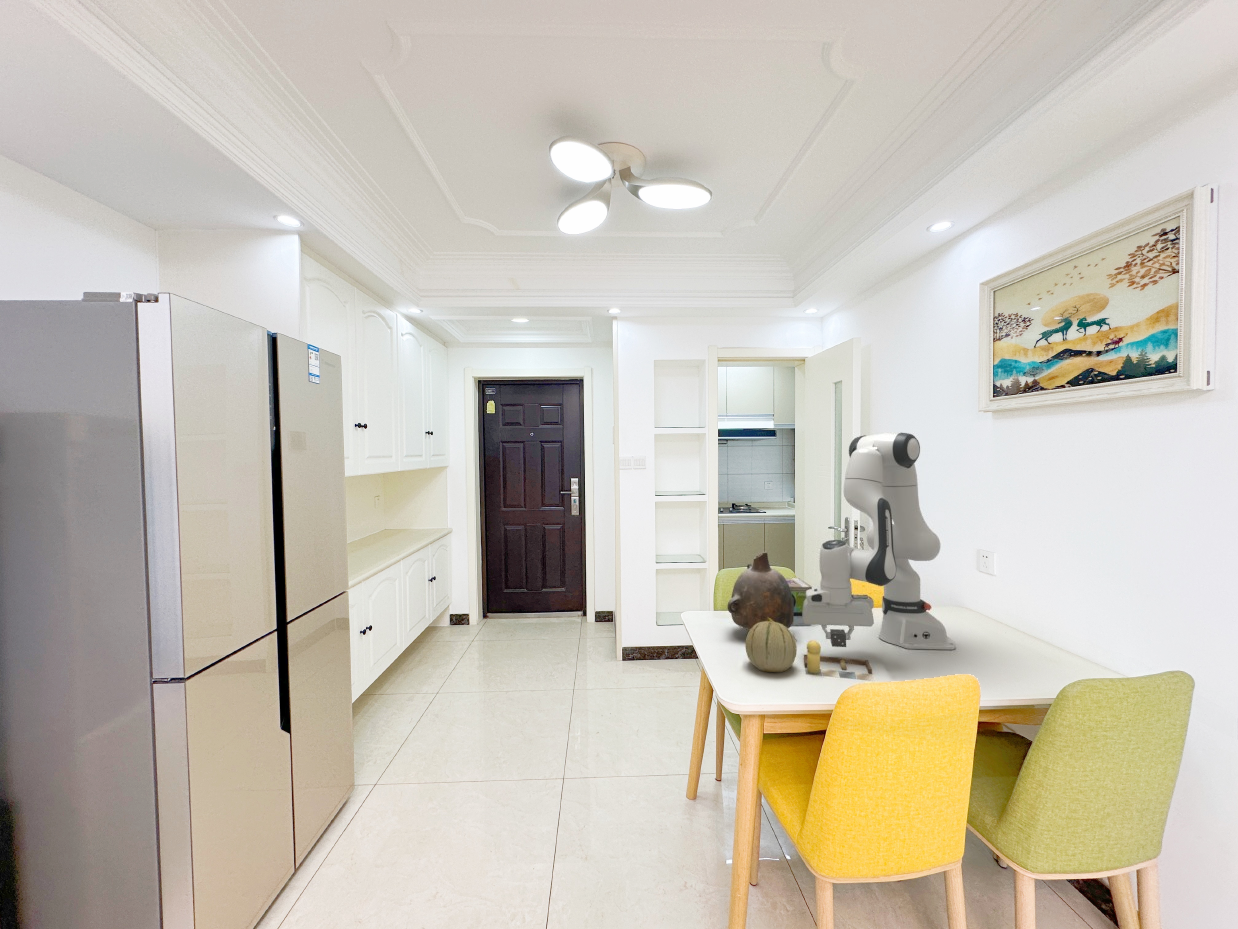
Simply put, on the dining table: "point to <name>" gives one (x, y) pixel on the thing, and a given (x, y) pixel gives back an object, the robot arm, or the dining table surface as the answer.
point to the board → (843, 668)
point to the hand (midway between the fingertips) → (837, 639)
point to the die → (838, 638)
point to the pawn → (813, 657)
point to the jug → (761, 596)
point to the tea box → (798, 597)
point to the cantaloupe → (771, 646)
